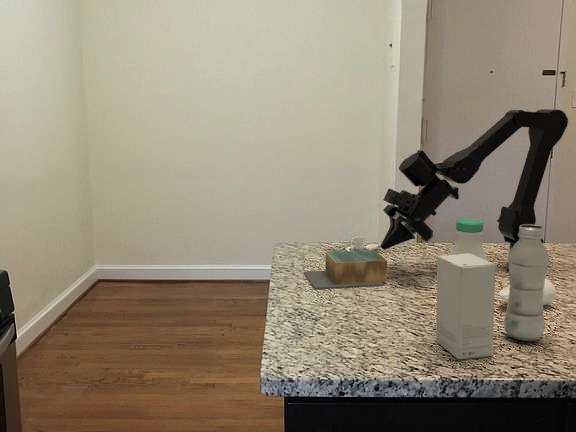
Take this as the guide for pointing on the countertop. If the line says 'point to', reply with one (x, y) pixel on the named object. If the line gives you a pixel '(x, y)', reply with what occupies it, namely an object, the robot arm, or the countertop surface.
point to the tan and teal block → (356, 267)
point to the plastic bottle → (526, 285)
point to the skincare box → (465, 305)
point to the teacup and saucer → (361, 244)
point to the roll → (548, 293)
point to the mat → (324, 281)
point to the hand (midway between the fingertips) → (382, 248)
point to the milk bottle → (469, 238)
